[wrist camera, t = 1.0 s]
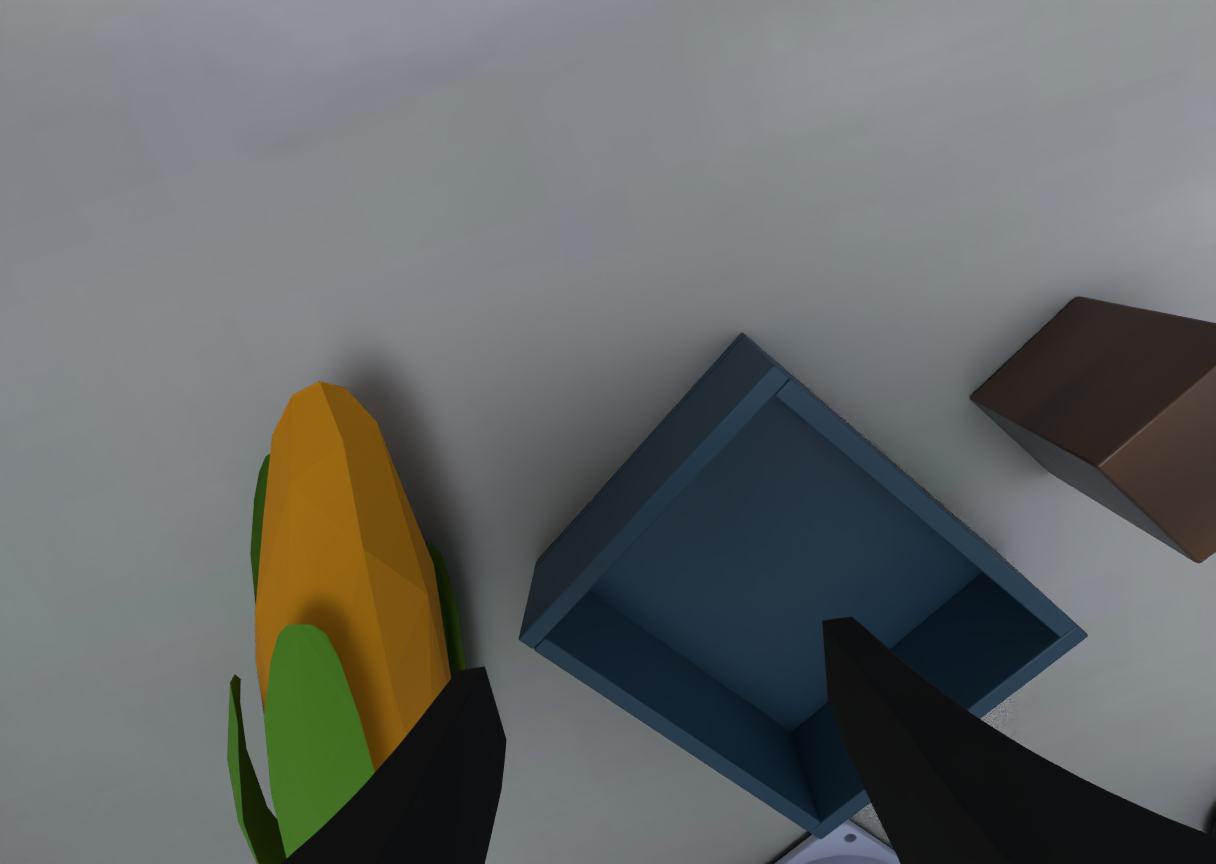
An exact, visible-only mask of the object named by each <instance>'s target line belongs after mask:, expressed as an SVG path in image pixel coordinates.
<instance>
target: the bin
mask: <svg viewBox="0 0 1216 864" xmlns="http://www.w3.org/2000/svg"><path fill="white" fill-rule="evenodd" d="M851 616H852V617H853V618H855V619H856V620H857V621H858V622H860V623H861V624H862V625H863V626H864V627H865V628H866V629H867V630H868V631H870V632H871V633H872V634H873V635H874V636H875V637H876V638H877V639H879V640H880V641H881V642H882V643H883V644H884V645H885V646H887V647H888V648H889V649H890V650H891V651H892V652H894V653H895V654H896V655H897V656H898V657H899V658H901V659H902V660H903V661H904V662H905V663H907V664H908V665H909V666H910V667H911V668H913V669H914V670H915V671H916V672H918V673H919V674H920V675H921V676H923V677H924V678H925V679H926V680H928V681H929V682H930V683H931V684H933V685H934V686H935V687H936V688H938V689H939V690H940V691H942V692H943V693H944V694H946V695H947V696H948V697H950V698H951V699H952V700H954V701H955V702H957V703H958V704H959V705H961V706H962V707H964V708H965V709H966V710H968V711H969V712H970V713H972V714H973V715H975V716H976V717H978V718H979V719H980V718H982V717H983V716H984V715H985V714H987V713H988V712H989V711H991V710H992V709H993V708H995V707H996V706H997V705H999V704H1000V703H1001V702H1002V701H1004V700H1005V699H1006V698H1008V697H1009V696H1010V695H1012V694H1013V693H1014V692H1016V691H1017V690H1018V689H1020V688H1021V687H1022V686H1023V685H1025V684H1026V683H1027V682H1029V681H1030V680H1031V679H1033V678H1034V677H1035V676H1037V675H1038V674H1039V673H1040V672H1042V671H1043V670H1044V669H1046V668H1047V667H1048V666H1050V665H1051V664H1052V663H1054V662H1055V661H1056V660H1057V659H1059V658H1060V657H1061V656H1063V655H1064V654H1065V653H1067V652H1068V651H1069V650H1071V649H1072V648H1073V647H1075V646H1076V645H1077V644H1078V643H1080V642H1081V641H1082V640H1084V639H1085V638H1086V637H1087V636H1088V635H1087V633H1086V632H1085V631H1084V630H1083V629H1081V628H1080V627H1079V626H1078V625H1077V624H1076V623H1075V622H1074V621H1073V620H1072V619H1070V618H1069V617H1068V616H1067V615H1066V614H1065V613H1064V612H1063V611H1062V610H1061V609H1059V608H1058V607H1057V606H1056V605H1055V604H1054V603H1053V602H1052V601H1051V600H1050V599H1048V598H1047V597H1046V596H1045V595H1044V594H1043V593H1042V592H1041V591H1040V590H1039V589H1037V588H1036V587H1035V586H1034V585H1033V584H1032V583H1031V582H1030V581H1029V580H1028V579H1026V578H1025V577H1024V576H1023V575H1022V574H1021V573H1020V572H1019V571H1018V570H1017V569H1015V568H1014V567H1013V566H1012V565H1011V564H1010V563H1009V562H1008V561H1007V560H1006V559H1004V558H1003V557H1002V556H1001V555H1000V554H999V553H998V552H996V551H995V550H994V549H993V548H992V547H991V546H989V545H988V544H987V543H986V542H985V541H984V540H982V539H981V538H980V537H979V536H978V535H977V534H976V533H974V532H973V531H972V530H971V529H970V528H969V527H967V526H966V525H965V524H964V523H963V522H962V521H960V520H959V519H958V518H957V517H956V516H955V515H954V514H952V513H951V512H950V511H949V510H948V509H947V508H945V507H944V506H943V505H942V504H941V503H940V502H938V501H937V500H936V499H935V498H934V497H933V496H931V495H930V494H929V493H928V492H927V491H926V490H925V489H923V488H922V487H921V486H920V485H919V484H918V483H916V482H915V481H914V480H913V479H912V478H911V477H909V476H908V475H907V474H906V473H905V472H904V471H903V470H901V469H900V468H899V467H898V466H897V465H896V464H894V463H893V462H892V461H891V460H890V459H889V458H887V457H886V456H885V455H884V454H883V453H882V452H881V451H879V450H878V449H877V448H876V447H875V446H874V445H872V444H871V443H870V442H869V441H868V440H867V439H865V438H864V437H863V436H862V435H861V434H860V433H858V432H857V431H856V430H855V429H854V428H853V427H852V426H850V425H849V424H848V423H847V422H846V421H845V420H843V419H842V418H841V417H840V416H839V415H838V414H836V413H835V412H834V411H833V410H832V409H831V408H830V407H828V406H827V405H826V404H825V403H824V402H823V401H821V400H820V399H819V398H818V397H817V396H816V395H814V394H813V393H812V392H811V391H810V390H809V389H808V388H806V387H805V386H804V385H803V384H802V383H801V382H799V381H798V380H797V379H796V378H795V377H794V376H792V375H791V374H790V373H789V372H788V371H787V370H785V369H784V368H783V367H782V366H781V365H780V364H779V363H777V362H776V361H775V360H774V359H773V358H772V357H770V356H769V355H768V354H767V353H766V352H765V351H763V350H762V349H761V348H760V347H759V346H758V345H757V344H755V343H754V342H753V341H752V340H751V339H750V338H748V337H747V336H746V335H745V334H744V333H741V334H740V335H739V336H738V337H737V339H736V340H735V341H734V342H733V343H732V344H731V345H730V346H729V347H728V349H727V350H726V351H725V352H724V353H723V354H722V355H721V356H720V357H719V359H718V360H717V361H716V362H715V363H714V364H713V365H712V366H711V368H710V369H709V370H708V371H707V372H706V373H705V374H704V375H703V376H702V378H701V379H700V380H699V381H698V382H697V383H696V384H695V385H694V386H693V388H692V389H691V390H690V391H689V392H688V393H687V394H686V395H685V397H684V398H683V399H682V400H681V401H680V402H679V403H678V404H677V405H676V407H675V408H674V409H673V410H672V411H671V412H670V413H669V414H668V415H667V417H666V418H665V419H664V420H663V421H662V422H661V423H660V424H659V425H658V427H657V428H656V429H655V430H654V431H653V432H652V433H651V434H650V436H649V437H648V438H647V439H646V440H645V441H644V442H643V443H642V444H641V446H640V447H639V448H638V449H637V450H636V451H635V452H634V453H633V454H632V456H631V457H630V458H629V459H628V460H627V461H626V462H625V463H624V465H623V466H622V467H621V468H620V469H619V470H618V471H617V472H616V473H615V475H614V476H613V477H612V478H611V479H610V480H609V481H608V482H607V483H606V485H605V486H604V487H603V488H602V489H601V490H600V491H599V492H598V494H597V495H596V496H595V497H594V498H593V499H592V500H591V501H590V502H589V504H588V505H587V506H586V507H585V508H584V509H583V510H582V511H581V512H580V514H579V515H578V516H577V517H576V518H575V519H574V520H573V521H572V523H571V524H570V525H569V526H568V527H567V528H566V529H565V530H564V531H563V533H562V534H561V535H560V536H559V537H558V538H557V539H556V540H555V541H554V543H553V544H552V545H551V546H550V547H549V548H548V549H547V550H546V552H545V553H544V554H543V555H542V556H541V557H540V558H539V559H538V560H537V562H536V564H535V570H534V574H533V578H532V583H531V587H530V592H529V596H528V600H527V605H526V609H525V614H524V618H523V622H522V627H521V631H520V636H519V640H520V641H521V642H523V643H524V644H526V645H527V646H529V647H530V648H532V649H533V648H534V650H535V651H536V652H538V653H539V654H541V655H542V656H544V657H545V658H547V659H548V660H550V661H551V662H553V663H554V664H556V665H557V666H559V667H560V668H562V669H563V670H565V671H566V672H568V673H569V674H571V675H572V676H574V677H575V678H577V679H578V680H580V681H582V682H583V683H585V684H586V685H588V686H589V687H591V688H592V689H594V690H595V691H597V692H598V693H600V694H601V695H603V696H604V697H606V698H607V699H609V700H610V701H612V702H613V703H615V704H616V705H618V706H619V707H621V708H622V709H624V710H625V711H627V712H628V713H630V714H631V715H633V716H634V717H636V718H637V719H639V720H640V721H642V722H643V723H645V724H646V725H648V726H649V727H651V728H652V729H654V730H656V731H657V732H659V733H660V734H662V735H663V736H665V737H666V738H668V739H669V740H671V741H672V742H674V743H675V744H677V745H678V746H680V747H681V748H683V749H684V750H686V751H687V752H689V753H690V754H692V755H693V756H695V757H696V758H698V759H699V760H701V761H702V762H704V763H705V764H707V765H708V766H710V767H711V768H713V769H714V770H716V771H717V772H719V773H720V774H722V775H723V776H725V777H727V778H728V779H730V780H731V781H733V782H734V783H736V784H737V785H739V786H740V787H742V788H743V789H745V790H746V791H748V792H749V793H751V794H752V795H754V796H755V797H757V798H758V799H760V800H761V801H763V802H764V803H766V804H767V805H769V806H770V807H772V808H773V809H775V810H776V811H778V812H779V813H781V814H782V815H784V816H785V817H787V818H788V819H790V820H791V821H793V822H794V823H796V824H797V825H799V826H801V827H802V828H804V829H805V830H807V831H808V832H810V833H811V834H813V835H814V836H816V837H817V838H819V839H823V838H824V837H826V836H827V835H828V834H830V833H831V832H832V831H834V830H835V829H836V828H838V827H839V826H840V825H841V824H843V823H844V822H845V821H847V820H848V819H849V818H851V817H852V816H853V815H855V814H856V813H857V812H858V811H860V810H861V809H862V808H864V807H865V806H866V805H868V804H869V803H870V802H871V801H870V799H869V797H868V795H867V793H866V791H865V789H864V787H863V785H862V782H861V780H860V778H859V776H858V774H857V772H856V770H855V768H854V766H853V764H852V761H851V759H850V757H849V755H848V753H847V751H846V749H845V747H844V744H843V741H842V738H841V735H840V733H839V730H838V727H837V724H836V721H835V718H834V715H833V712H832V709H831V707H830V704H829V701H828V694H827V680H826V667H825V654H824V640H823V627H822V620H829V619H837V618H844V617H851Z"/></svg>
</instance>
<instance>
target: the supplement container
mask: <svg viewBox="0 0 1216 864" xmlns="http://www.w3.org/2000/svg"><path fill="white" fill-rule="evenodd" d="M1211 833H1212V836H1214V837H1216V817H1215V819H1214V821H1213V825H1212V832H1211Z"/></svg>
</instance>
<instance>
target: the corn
mask: <svg viewBox="0 0 1216 864" xmlns="http://www.w3.org/2000/svg"><path fill="white" fill-rule="evenodd" d="M251 564H252V573H253V583H254V593H255V603H256V610H255V642H256V665H257V671H258V678H259V684H260V691H261V697H262V704H263V711H264V721H265V732H266V742H267V753H268V764H269V775H270V785H271V795H272V799H273V804H274V808H275V812H276V816H277V819H276V818H275V816H274V815H273V814H272V812H271V811H270V810H269V809H268V807H267V805H266V802H265V799H264V796H263V794H262V791H261V788H260V785H259V782H258V780H257V777H256V774H255V771H254V769H253V766H252V763H251V760H250V757H249V755H248V752H247V749H246V743H245V735H244V728H243V720H242V713H241V705H240V681H241V679H240V678H239V677H238V676H236V675H234V677H233V678H232V680H231V682H230V701H229V727H228V754H227V761H228V766H229V772H230V778H231V783H232V789H233V795H234V800H235V806H236V812H237V817H238V822H239V825H240V827H241V829H242V831H243V834H244V836H245V838H246V840H247V843H248V845H249V847H250V849H251V851H252V854H253V856H254V858H255V860H256V863H257V864H281V863H282V862H283V861H284V860H285V859H286V858H288V857H289V856H290V855H291V854H292V853H293V852H294V851H296V850H297V849H298V848H299V847H300V846H301V845H302V844H304V843H305V842H306V841H307V840H308V839H309V838H310V837H312V836H313V835H314V834H315V833H316V832H317V831H318V830H319V829H320V828H321V827H323V826H324V825H325V824H326V823H327V822H328V821H329V820H330V819H331V818H332V817H333V816H334V815H335V814H336V813H337V812H338V811H339V810H340V809H341V808H342V807H343V806H344V805H345V804H346V803H347V802H348V801H349V800H350V799H351V798H352V797H353V796H354V795H355V794H356V793H357V792H358V791H359V789H360V788H361V787H362V786H363V785H364V784H365V783H366V782H367V781H368V780H369V779H370V777H371V776H372V775H373V774H374V773H375V772H376V770H377V769H378V768H379V767H380V766H381V765H382V764H383V762H384V761H385V760H386V759H387V758H388V757H389V756H390V754H391V753H392V752H393V751H394V750H395V749H396V748H397V746H398V745H399V744H400V743H401V741H402V740H403V739H404V738H405V736H406V735H407V734H408V733H409V732H410V730H411V729H412V728H413V727H414V725H415V724H416V723H417V722H418V720H419V719H420V718H421V716H422V715H423V714H424V713H425V711H426V710H427V709H428V707H429V706H430V705H431V704H432V702H433V701H434V700H435V698H436V697H437V696H438V695H439V693H440V692H441V691H442V689H443V688H444V687H445V686H446V684H447V683H448V682H449V680H450V679H451V678H452V677H453V675H454V674H455V673H456V672H457V670H464V669H466V663H465V656H464V650H463V644H462V637H461V631H460V624H459V618H458V612H457V607H456V603H455V599H454V595H453V591H452V587H451V583H450V579H449V575H448V572H447V569H446V566H445V564H444V561H443V558H442V555H441V553H440V552H439V551H438V550H437V549H436V548H435V547H434V546H433V545H432V544H428V543H425V541H424V539H423V536H422V534H421V531H420V529H419V526H418V524H417V521H416V519H415V516H414V514H413V511H412V509H411V506H410V504H409V501H408V499H407V496H406V494H405V491H404V489H403V486H402V484H401V481H400V479H399V476H398V474H397V471H396V469H395V466H394V464H393V461H392V459H391V456H390V454H389V451H388V449H387V446H386V444H385V441H384V439H383V436H382V434H381V431H380V429H379V426H378V424H377V422H376V421H375V420H374V418H373V417H372V416H371V415H370V414H369V413H368V412H367V411H366V410H365V409H364V407H363V406H362V405H361V404H360V403H359V402H358V401H357V400H356V399H355V398H354V396H353V395H352V394H351V393H350V392H349V391H348V390H347V389H346V388H344V387H340V386H336V385H332V384H328V383H324V382H321V381H319V382H317V383H315V384H313V385H311V386H309V387H307V388H305V389H303V390H301V391H299V392H297V393H295V394H293V395H292V396H291V398H290V400H289V402H288V405H287V407H286V409H285V411H284V413H283V415H282V417H281V419H280V421H279V423H278V425H277V427H276V429H275V431H274V433H273V435H272V443H271V452H270V454H269V455H267V456H266V457H265V460H264V462H263V464H262V467H261V469H260V471H259V476H258V482H257V487H256V492H255V498H254V510H253V525H252V540H251Z"/></svg>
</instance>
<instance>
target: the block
mask: <svg viewBox="0 0 1216 864" xmlns="http://www.w3.org/2000/svg"><path fill="white" fill-rule="evenodd" d="M971 399H972V401H973V402H974V403H975V404H977V405H978V406H979V407H980V408H981V409H982V410H983V411H984V412H985V413H986V414H987V415H988V416H990V417H991V418H992V419H993V420H994V421H995V422H996V423H997V424H998V425H999V426H1000V427H1001V428H1002V429H1004V430H1005V431H1006V432H1007V433H1008V434H1009V435H1010V436H1011V437H1012V438H1013V439H1014V440H1015V441H1016V442H1018V443H1019V444H1020V445H1021V446H1022V447H1023V448H1024V449H1025V450H1026V451H1027V452H1028V453H1029V454H1031V455H1032V456H1033V457H1034V458H1035V459H1036V460H1037V461H1038V462H1039V463H1040V464H1041V465H1042V466H1043V467H1045V468H1046V469H1047V470H1048V471H1049V472H1050V473H1051V474H1053V475H1054V476H1056V477H1057V478H1059V479H1061V480H1062V481H1064V482H1066V483H1067V484H1069V485H1070V486H1072V487H1074V488H1075V489H1077V490H1079V491H1080V492H1082V493H1083V494H1085V495H1087V496H1088V497H1090V498H1092V499H1093V500H1095V501H1096V502H1098V503H1100V504H1101V505H1103V506H1105V507H1106V508H1108V509H1109V510H1111V511H1113V512H1114V513H1116V514H1118V515H1119V516H1121V517H1122V518H1124V519H1126V520H1127V521H1129V522H1131V523H1132V524H1134V525H1135V526H1137V527H1139V528H1140V529H1142V530H1144V531H1145V532H1147V533H1148V534H1150V535H1152V536H1153V537H1155V538H1157V539H1158V540H1160V541H1161V542H1163V543H1165V544H1166V545H1168V546H1169V547H1171V548H1173V549H1174V550H1176V551H1178V552H1179V553H1181V554H1182V555H1184V556H1186V557H1187V558H1189V559H1191V560H1192V561H1194V562H1196V563H1201V562H1203V561H1204V560H1205V559H1207V558H1208V557H1209V556H1211V555H1212V554H1213V553H1215V552H1216V323H1212V322H1207V321H1202V320H1197V319H1192V318H1187V317H1182V316H1177V315H1171V314H1166V313H1161V312H1156V311H1151V310H1146V309H1141V308H1136V307H1130V306H1125V305H1120V304H1115V303H1110V302H1105V301H1100V300H1095V299H1089V298H1084V297H1077V298H1075V299H1074V300H1073V301H1072V302H1071V303H1070V304H1069V305H1068V306H1067V307H1066V308H1065V309H1064V310H1063V311H1061V312H1060V313H1059V314H1058V315H1057V316H1056V317H1055V318H1054V319H1053V320H1052V321H1051V322H1050V323H1049V324H1048V325H1047V326H1046V327H1045V328H1043V329H1042V330H1041V331H1040V332H1039V333H1038V334H1037V335H1036V336H1035V337H1034V338H1033V339H1032V340H1031V341H1030V342H1029V343H1028V344H1026V345H1025V346H1024V347H1023V348H1022V349H1021V350H1020V351H1019V352H1018V353H1017V354H1016V355H1015V356H1014V357H1013V358H1012V359H1011V360H1009V361H1008V362H1007V363H1006V364H1005V365H1004V366H1003V367H1002V368H1001V369H1000V370H999V371H998V372H997V373H996V374H995V375H994V376H992V377H991V378H990V379H989V380H988V381H987V382H986V383H985V384H984V385H983V386H982V387H981V388H980V389H979V390H978V391H977V392H976V393H974V394H973V395H972V396H971Z"/></svg>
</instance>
